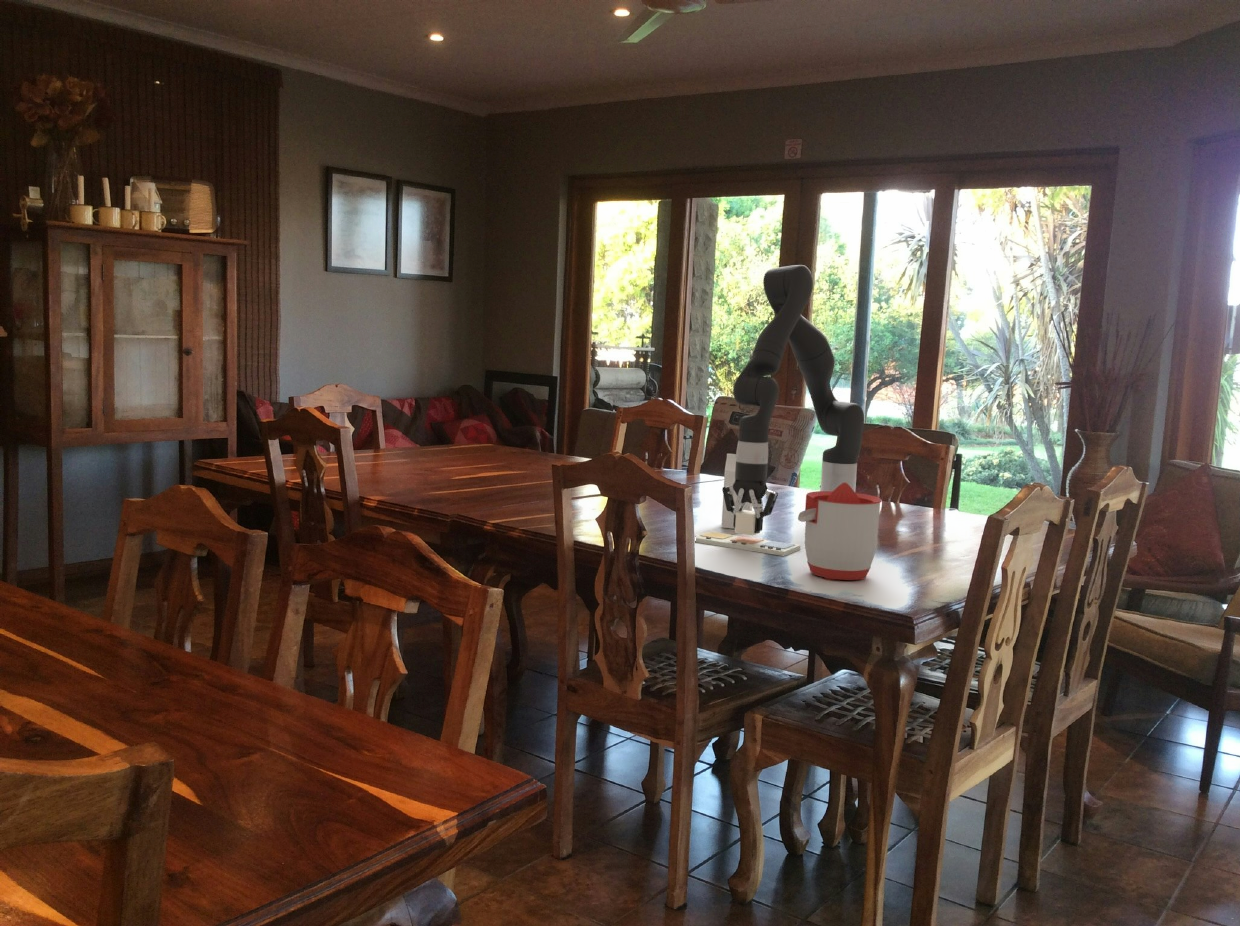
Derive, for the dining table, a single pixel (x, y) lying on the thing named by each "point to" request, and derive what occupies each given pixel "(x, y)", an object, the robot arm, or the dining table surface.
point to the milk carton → (729, 481)
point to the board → (747, 543)
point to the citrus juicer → (840, 532)
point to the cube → (745, 522)
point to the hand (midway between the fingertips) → (747, 531)
